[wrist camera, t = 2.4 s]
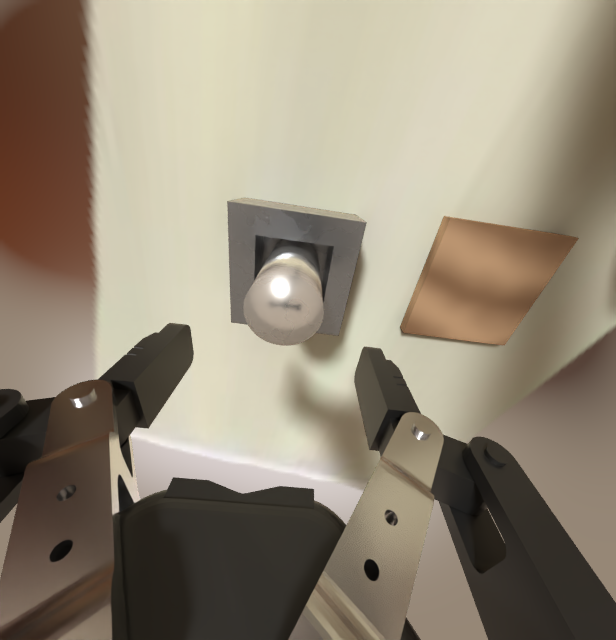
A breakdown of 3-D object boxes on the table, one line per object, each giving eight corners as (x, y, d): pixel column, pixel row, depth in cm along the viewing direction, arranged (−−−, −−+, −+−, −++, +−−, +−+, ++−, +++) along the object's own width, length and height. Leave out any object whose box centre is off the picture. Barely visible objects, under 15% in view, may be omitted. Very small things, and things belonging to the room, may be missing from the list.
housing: (244, 197, 21) (227, 201, 16) (355, 214, 21) (366, 222, 17) (244, 299, 26) (231, 322, 21) (334, 310, 26) (338, 335, 22)
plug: (270, 234, 21) (243, 268, 13) (322, 242, 22) (330, 280, 13) (268, 283, 24) (243, 340, 15) (314, 289, 24) (316, 349, 15)
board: (444, 216, 21) (450, 217, 20) (566, 235, 22) (578, 237, 21) (400, 327, 27) (403, 332, 26) (497, 339, 28) (504, 345, 27)
